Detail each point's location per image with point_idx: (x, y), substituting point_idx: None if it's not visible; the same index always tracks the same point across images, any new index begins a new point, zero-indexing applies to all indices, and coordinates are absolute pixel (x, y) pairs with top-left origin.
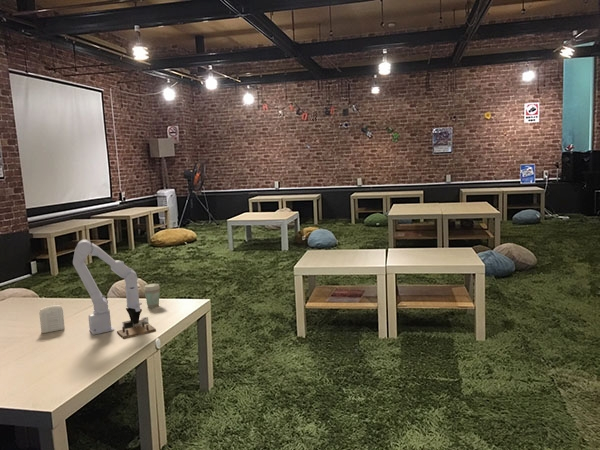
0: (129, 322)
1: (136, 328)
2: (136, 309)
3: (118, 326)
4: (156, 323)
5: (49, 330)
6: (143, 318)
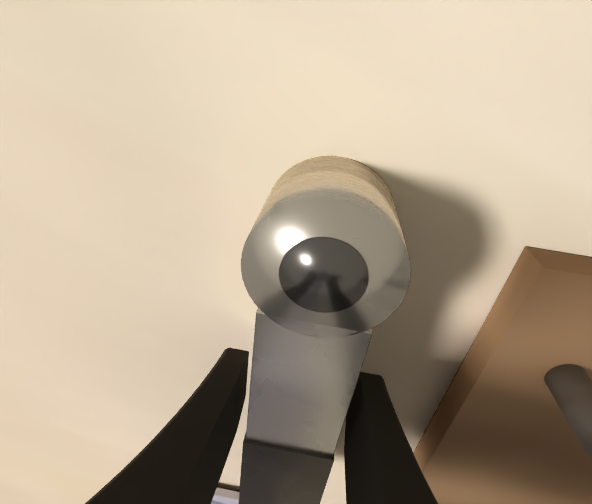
0: (326, 482)
1: (537, 455)
2: None
3: None
4: (582, 61)
5: None
6: (329, 302)
